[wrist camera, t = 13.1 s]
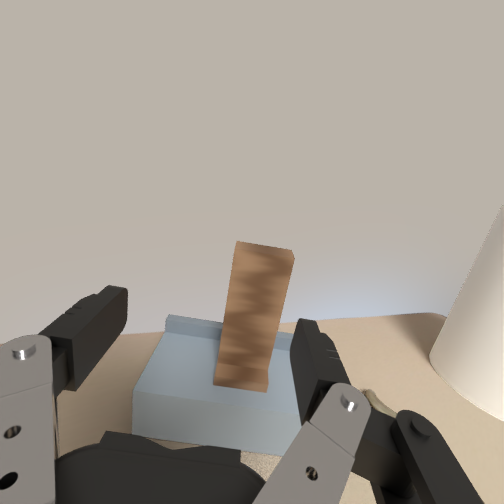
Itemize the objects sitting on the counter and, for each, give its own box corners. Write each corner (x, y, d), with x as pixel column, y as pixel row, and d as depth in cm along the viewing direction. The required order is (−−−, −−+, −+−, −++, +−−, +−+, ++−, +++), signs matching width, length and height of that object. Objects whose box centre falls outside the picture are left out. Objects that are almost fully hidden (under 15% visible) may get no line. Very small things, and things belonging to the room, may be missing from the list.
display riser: (131, 435, 26) (132, 375, 23) (165, 362, 35) (168, 314, 33) (325, 462, 27) (346, 407, 24) (307, 383, 36) (321, 338, 33)
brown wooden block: (213, 385, 26) (233, 255, 21) (220, 345, 32) (238, 235, 27) (266, 392, 26) (297, 266, 22) (264, 352, 32) (289, 244, 27)
